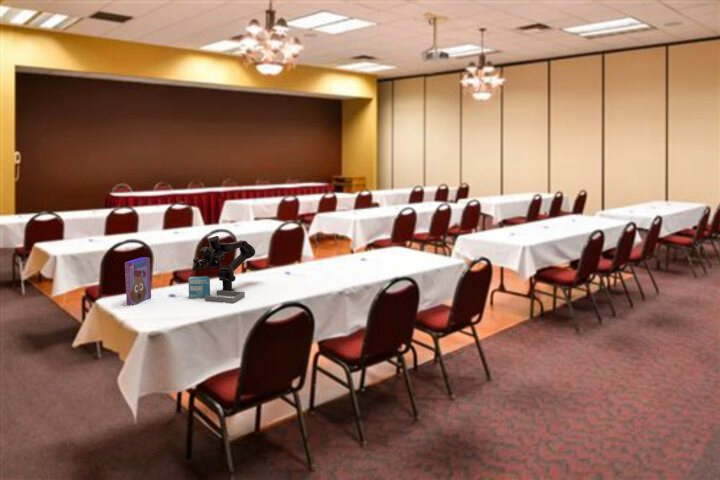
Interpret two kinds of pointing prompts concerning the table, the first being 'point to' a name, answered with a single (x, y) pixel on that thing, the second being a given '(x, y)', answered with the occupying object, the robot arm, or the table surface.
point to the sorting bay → (235, 298)
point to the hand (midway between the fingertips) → (198, 269)
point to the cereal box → (138, 280)
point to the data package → (199, 287)
